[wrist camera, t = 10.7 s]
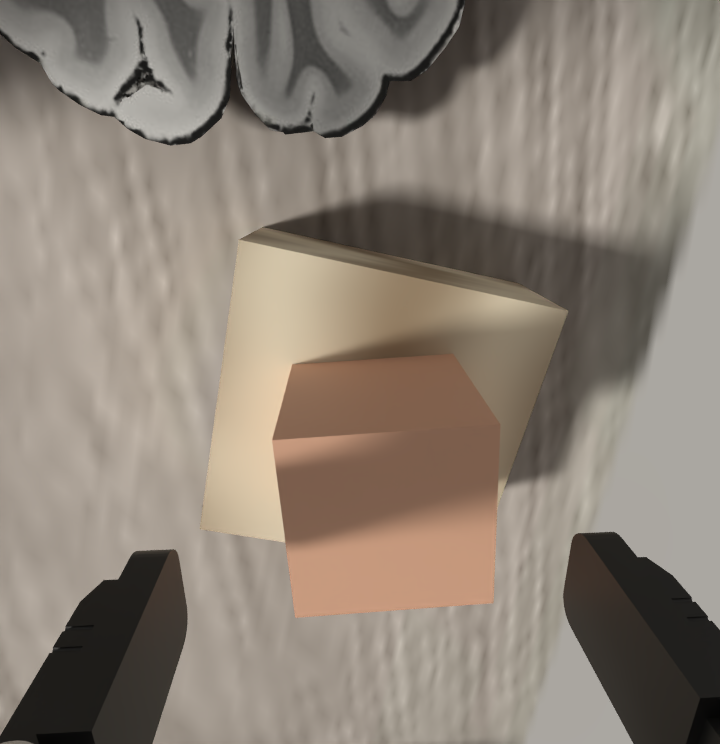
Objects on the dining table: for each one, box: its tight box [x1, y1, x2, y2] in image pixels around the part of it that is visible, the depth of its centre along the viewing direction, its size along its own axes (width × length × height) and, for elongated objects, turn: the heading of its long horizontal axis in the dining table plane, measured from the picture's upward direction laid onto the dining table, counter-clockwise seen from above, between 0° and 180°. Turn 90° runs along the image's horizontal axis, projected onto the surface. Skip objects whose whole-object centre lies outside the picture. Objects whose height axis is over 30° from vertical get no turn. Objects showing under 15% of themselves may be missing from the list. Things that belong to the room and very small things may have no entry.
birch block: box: [200, 227, 568, 542], centre depth 19 cm, size 10×10×5 cm
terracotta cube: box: [272, 354, 501, 618], centre depth 14 cm, size 5×5×5 cm
